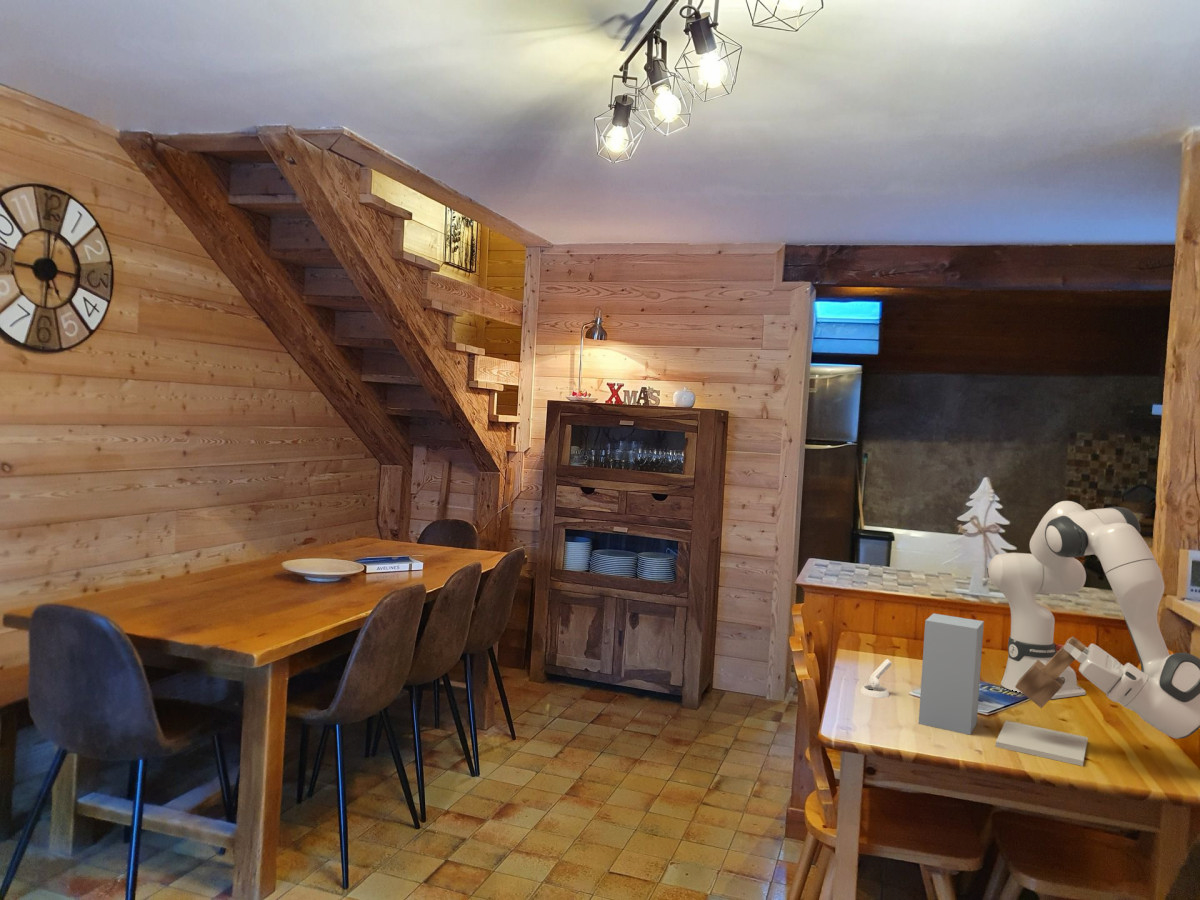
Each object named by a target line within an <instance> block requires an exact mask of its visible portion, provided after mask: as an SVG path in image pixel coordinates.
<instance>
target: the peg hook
mask: <svg viewBox="0 0 1200 900" xmlns="http://www.w3.org/2000/svg"><path fill="white" fill-rule="evenodd" d="M1068 639H1069V640H1068ZM1068 639H1067V640H1068V641H1067V640H1066V641H1067V642H1066V641H1065V643H1064V644H1063V645H1064V646H1065V645H1066V644H1067V643H1068V642H1069V643H1071V644H1072V645H1074V646H1075V647H1076V648H1077V649H1078V650H1080V651H1081V652H1082V651H1083V650H1084V649H1085V647H1087V646H1086V645H1085V644H1084V643H1083V642H1081V641H1080V640H1079V639H1077V638H1076V637H1074V635H1072V636H1071V637H1070V638H1068ZM1064 646H1063V647H1062V648H1061V649H1060V650H1059V651H1057V653H1056V654H1055V655H1054V656H1053V657H1052V658H1051V659H1050V660H1049V662H1048V663H1047V664H1046V665H1044V664H1043V663H1042V662H1040V661H1039V660H1037V661H1036V662H1035V663H1034V664H1033V665H1032V667H1031V668H1030V669H1029V670H1028V671H1027V672H1026V673H1025V674H1024V675H1023V676H1022V677H1021V678H1020V679H1019V681H1018V683H1017V684H1016V686H1015V687H1016V688H1017V689H1018V690H1020V691H1021V692H1022V693H1021V694H1023V695H1025V696H1026V697H1027V698H1028V699H1029V700H1030V701H1031V702H1033V703H1035V705H1036V706H1038V707H1039V708H1040V709H1042V708H1043V707H1044V706H1045V705H1046V704H1047V703H1048V702H1049V701H1050V700H1052V699H1051V698H1052V697H1053V696H1054V695H1055V694H1056V693H1057V692H1058V691H1059V690H1060V688H1061V687H1062V685H1063V682H1064V680H1063V679H1062V678H1061V677H1059V676H1060V675H1061V673H1062V672H1063V671H1064V670H1065V669H1066V668H1067V667H1068V666H1071V665H1072V663H1073V662H1074V661H1075V660H1076V659H1075V658H1074V657H1073V656H1072V655H1071V654H1070V653H1068V652H1067V651H1065V650H1064Z"/></svg>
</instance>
